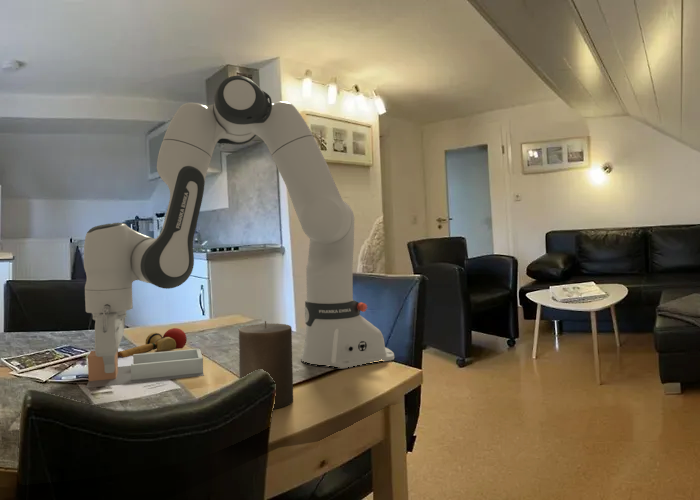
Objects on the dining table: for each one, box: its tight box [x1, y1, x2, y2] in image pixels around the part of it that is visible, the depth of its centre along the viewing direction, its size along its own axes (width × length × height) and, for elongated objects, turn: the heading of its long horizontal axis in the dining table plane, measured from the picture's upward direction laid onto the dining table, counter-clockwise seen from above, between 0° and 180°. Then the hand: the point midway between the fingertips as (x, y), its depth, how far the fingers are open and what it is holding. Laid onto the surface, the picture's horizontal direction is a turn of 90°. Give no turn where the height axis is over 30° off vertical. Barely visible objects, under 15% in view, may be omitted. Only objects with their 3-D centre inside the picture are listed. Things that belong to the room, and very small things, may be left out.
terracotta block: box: [87, 350, 119, 382], centre depth 107 cm, size 5×5×5 cm
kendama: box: [118, 327, 188, 358], centre depth 130 cm, size 8×6×18 cm
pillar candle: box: [237, 320, 294, 410], centre depth 95 cm, size 10×10×15 cm
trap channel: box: [85, 348, 205, 389], centre depth 110 cm, size 22×14×4 cm, turn 110°
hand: (111, 368), depth 107 cm, fingers closed on terracotta block, 5 cm apart
